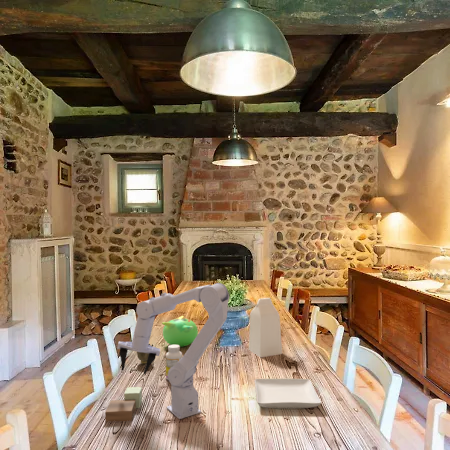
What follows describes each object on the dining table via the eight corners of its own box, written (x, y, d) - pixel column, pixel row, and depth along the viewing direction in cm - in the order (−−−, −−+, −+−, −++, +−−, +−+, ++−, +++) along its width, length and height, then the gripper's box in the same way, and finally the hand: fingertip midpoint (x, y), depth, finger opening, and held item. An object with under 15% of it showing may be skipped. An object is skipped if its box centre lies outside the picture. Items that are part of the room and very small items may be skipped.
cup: (156, 363, 171) (156, 345, 171) (142, 367, 165) (142, 349, 166) (146, 359, 176) (146, 342, 176) (133, 363, 171) (133, 345, 171)
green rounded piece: (200, 341, 204) (200, 313, 204) (194, 351, 187) (194, 321, 187) (167, 340, 206) (167, 313, 206) (158, 350, 189) (158, 320, 189)
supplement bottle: (174, 373, 158) (174, 342, 158) (185, 377, 154) (185, 345, 154) (162, 378, 153) (162, 346, 153) (173, 382, 149) (173, 349, 149)
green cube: (139, 408, 128) (139, 393, 128) (124, 408, 128) (124, 393, 128) (141, 401, 133) (141, 387, 133) (127, 401, 133) (127, 387, 133)
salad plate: (254, 386, 146) (254, 377, 146) (310, 386, 145) (310, 377, 145) (256, 413, 124) (256, 402, 124) (322, 413, 124) (322, 402, 124)
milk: (260, 357, 178) (259, 301, 178) (248, 350, 188) (248, 297, 189) (282, 353, 183) (281, 299, 183) (269, 347, 193) (269, 295, 193)
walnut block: (131, 422, 119) (131, 410, 119) (105, 423, 118) (105, 411, 118) (135, 410, 127) (135, 399, 127) (111, 411, 126) (111, 400, 126)
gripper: (163, 333, 137) (155, 369, 138) (123, 325, 135) (114, 362, 136) (162, 341, 130) (153, 379, 131) (119, 333, 128) (111, 371, 129)
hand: (133, 371), depth 133 cm, fingers open, 7 cm apart
